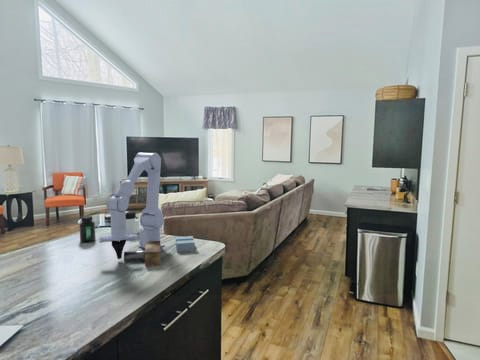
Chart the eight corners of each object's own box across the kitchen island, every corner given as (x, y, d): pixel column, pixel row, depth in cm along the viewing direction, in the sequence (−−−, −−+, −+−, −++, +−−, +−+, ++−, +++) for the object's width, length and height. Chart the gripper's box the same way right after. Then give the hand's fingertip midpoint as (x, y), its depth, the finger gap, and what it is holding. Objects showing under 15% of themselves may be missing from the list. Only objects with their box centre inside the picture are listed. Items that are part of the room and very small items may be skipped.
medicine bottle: (139, 232, 172) (138, 210, 171) (133, 236, 165) (133, 213, 164) (126, 231, 173) (126, 210, 171) (120, 235, 166) (119, 213, 164)
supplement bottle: (91, 242, 154) (90, 218, 152) (77, 242, 153) (76, 218, 152) (97, 238, 160) (96, 215, 159) (84, 238, 160) (83, 215, 159)
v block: (176, 252, 142) (176, 243, 142) (175, 245, 152) (175, 237, 151) (194, 251, 144) (194, 242, 143) (192, 244, 154) (192, 236, 153)
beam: (145, 265, 126) (144, 252, 126) (146, 253, 140) (146, 241, 139) (160, 264, 128) (160, 251, 127) (160, 252, 141) (160, 240, 141)
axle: (123, 262, 129) (123, 252, 129) (124, 260, 133) (124, 250, 133) (159, 259, 133) (159, 250, 133) (159, 258, 136) (159, 248, 137)
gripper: (97, 229, 123) (98, 263, 125) (136, 227, 127) (137, 260, 128) (100, 224, 130) (102, 256, 132) (137, 223, 134) (138, 254, 135)
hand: (119, 258), depth 130 cm, fingers closed
